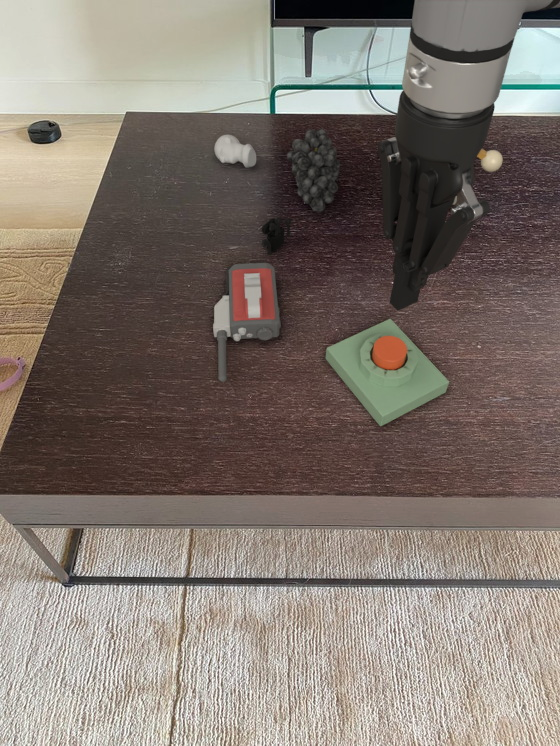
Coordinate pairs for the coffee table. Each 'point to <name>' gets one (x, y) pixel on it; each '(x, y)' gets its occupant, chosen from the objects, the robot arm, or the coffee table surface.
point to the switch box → (385, 374)
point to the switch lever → (490, 160)
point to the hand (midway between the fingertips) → (403, 301)
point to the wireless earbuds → (275, 234)
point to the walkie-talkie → (246, 308)
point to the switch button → (389, 352)
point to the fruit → (315, 168)
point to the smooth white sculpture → (234, 151)
